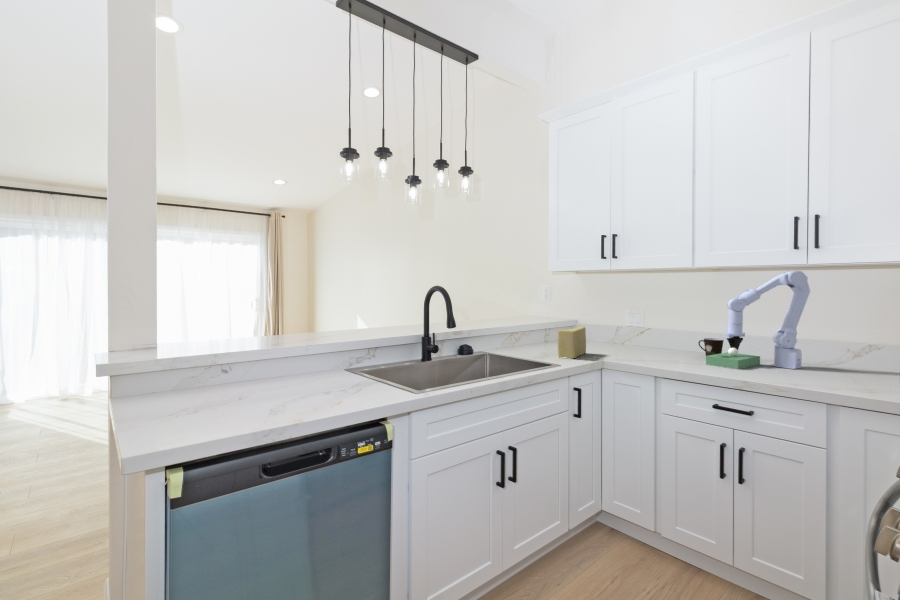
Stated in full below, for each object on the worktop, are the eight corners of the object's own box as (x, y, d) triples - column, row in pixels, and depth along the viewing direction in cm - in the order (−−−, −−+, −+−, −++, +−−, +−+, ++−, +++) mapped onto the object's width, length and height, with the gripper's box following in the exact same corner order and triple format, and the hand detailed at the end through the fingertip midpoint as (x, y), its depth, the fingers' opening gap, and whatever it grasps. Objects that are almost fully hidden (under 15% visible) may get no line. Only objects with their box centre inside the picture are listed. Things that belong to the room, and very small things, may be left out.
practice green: (728, 360, 212) (728, 352, 211) (759, 364, 199) (760, 356, 199) (705, 364, 201) (706, 355, 201) (737, 369, 189) (738, 360, 189)
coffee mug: (727, 359, 213) (727, 340, 212) (709, 360, 213) (710, 340, 212) (713, 356, 224) (713, 337, 224) (696, 356, 224) (697, 337, 224)
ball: (736, 347, 198) (733, 355, 198) (740, 349, 200) (738, 357, 200) (727, 345, 202) (725, 353, 202) (732, 348, 203) (729, 355, 203)
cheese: (576, 352, 239) (576, 326, 239) (593, 354, 232) (593, 327, 232) (557, 357, 223) (557, 329, 222) (574, 359, 216) (574, 330, 216)
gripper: (734, 322, 208) (733, 349, 209) (718, 323, 201) (716, 352, 202) (750, 323, 202) (749, 352, 203) (734, 325, 195) (732, 354, 195)
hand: (734, 352), depth 202 cm, fingers closed, pressing on ball
